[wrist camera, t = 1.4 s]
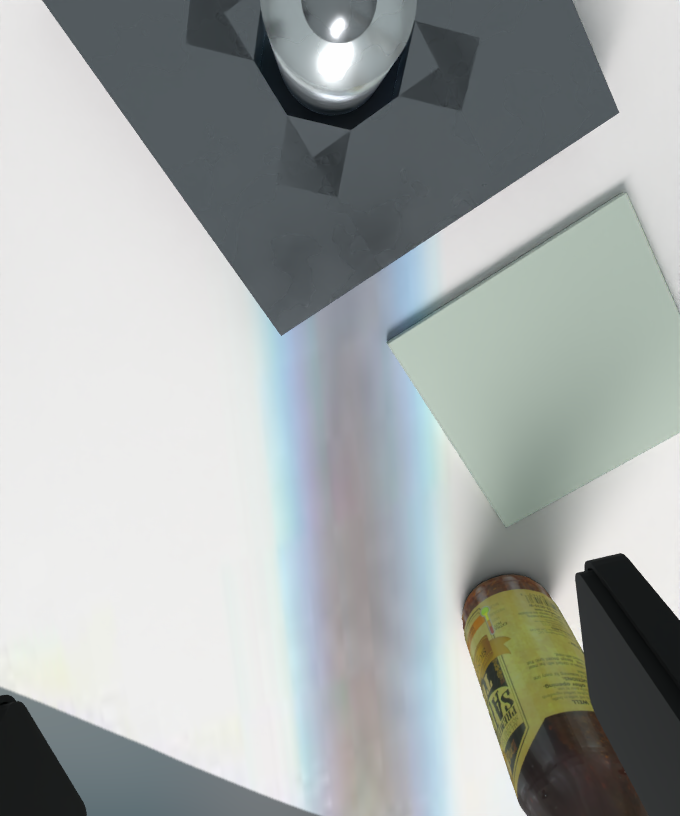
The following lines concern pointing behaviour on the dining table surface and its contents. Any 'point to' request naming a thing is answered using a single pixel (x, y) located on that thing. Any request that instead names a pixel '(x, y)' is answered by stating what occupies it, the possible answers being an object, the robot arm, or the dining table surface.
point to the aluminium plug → (336, 47)
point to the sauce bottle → (542, 703)
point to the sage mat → (554, 363)
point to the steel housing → (340, 130)
